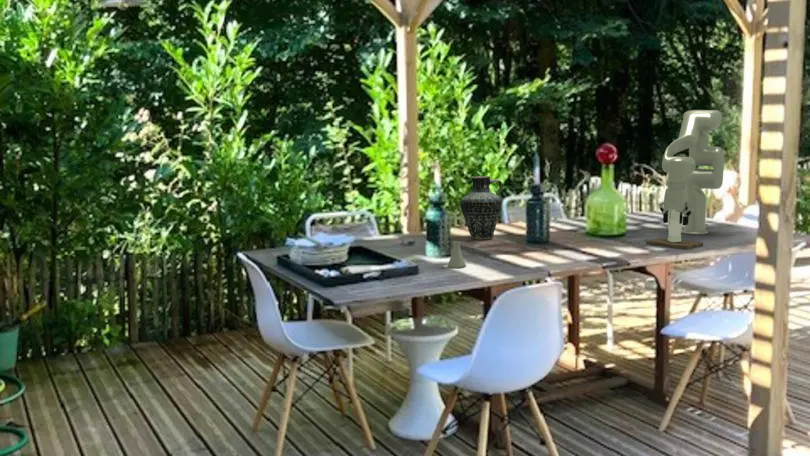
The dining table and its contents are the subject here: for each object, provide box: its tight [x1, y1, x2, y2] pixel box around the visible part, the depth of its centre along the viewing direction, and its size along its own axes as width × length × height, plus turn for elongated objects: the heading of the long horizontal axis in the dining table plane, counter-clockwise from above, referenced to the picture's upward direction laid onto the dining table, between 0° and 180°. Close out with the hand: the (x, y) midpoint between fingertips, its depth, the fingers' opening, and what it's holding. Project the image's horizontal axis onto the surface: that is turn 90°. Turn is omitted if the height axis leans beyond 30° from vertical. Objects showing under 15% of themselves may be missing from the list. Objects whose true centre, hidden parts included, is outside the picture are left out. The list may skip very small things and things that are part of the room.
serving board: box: [645, 237, 704, 251], centre depth 371 cm, size 14×20×2 cm
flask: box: [447, 241, 467, 269], centre depth 326 cm, size 7×7×10 cm
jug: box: [459, 175, 504, 240], centre depth 392 cm, size 21×19×30 cm
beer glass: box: [667, 209, 684, 243], centre depth 370 cm, size 7×7×15 cm
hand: (675, 223), depth 370 cm, fingers open, 9 cm apart
